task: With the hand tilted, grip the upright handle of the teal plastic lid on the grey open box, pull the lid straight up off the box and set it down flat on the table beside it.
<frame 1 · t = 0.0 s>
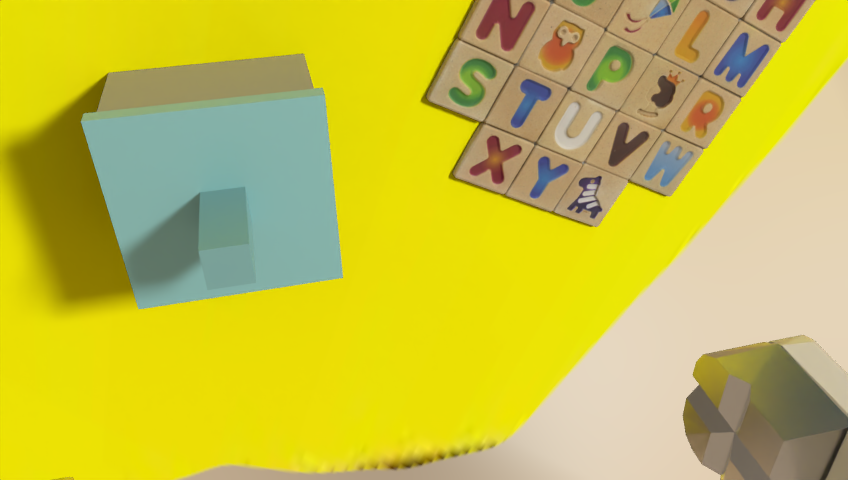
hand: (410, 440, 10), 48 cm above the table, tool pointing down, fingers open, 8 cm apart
alphabet tiles: (625, 37, 62), on the table
grey open box: (224, 148, 58), on the table
lid: (226, 199, 52), point 8 cm above the table, touching grey open box
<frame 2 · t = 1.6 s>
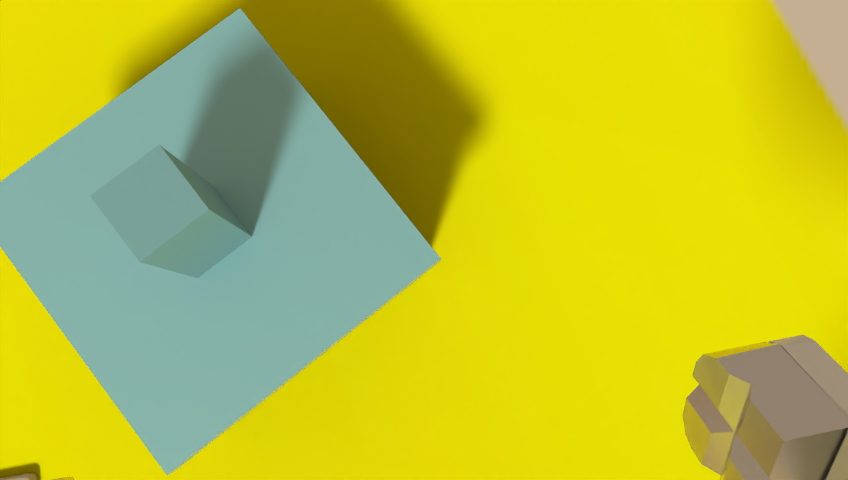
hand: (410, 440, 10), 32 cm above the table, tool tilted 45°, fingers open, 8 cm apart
lid: (212, 235, 34), point 8 cm above the table, touching grey open box
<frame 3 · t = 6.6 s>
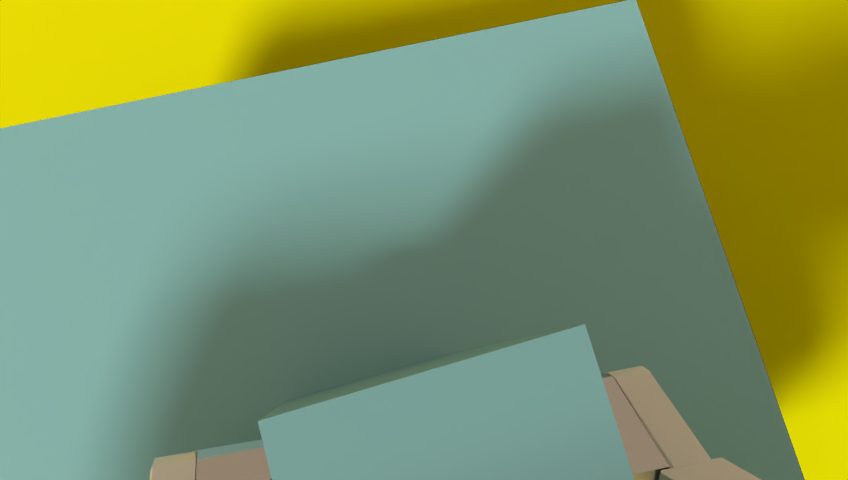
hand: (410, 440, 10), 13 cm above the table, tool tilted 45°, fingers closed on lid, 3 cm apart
lid: (383, 454, 14), point 8 cm above the table, touching gripper, grey open box
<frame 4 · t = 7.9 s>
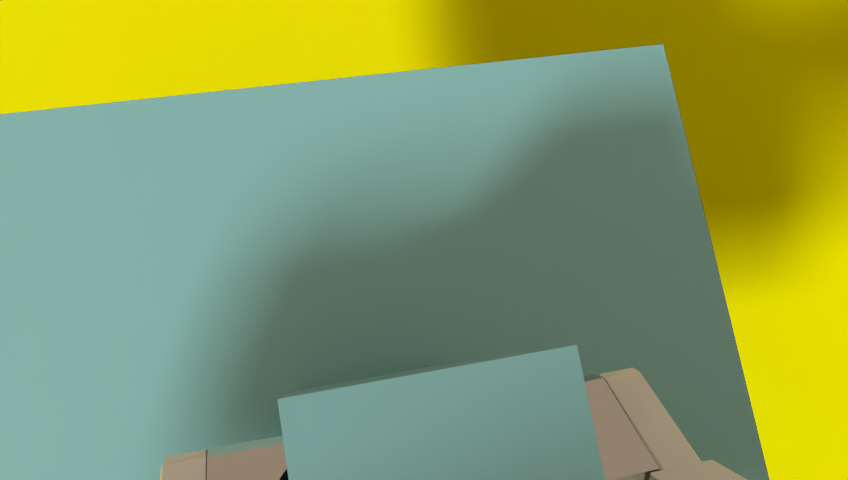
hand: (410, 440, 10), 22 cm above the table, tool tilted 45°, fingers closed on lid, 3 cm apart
lid: (379, 451, 15), point 17 cm above the table, touching gripper
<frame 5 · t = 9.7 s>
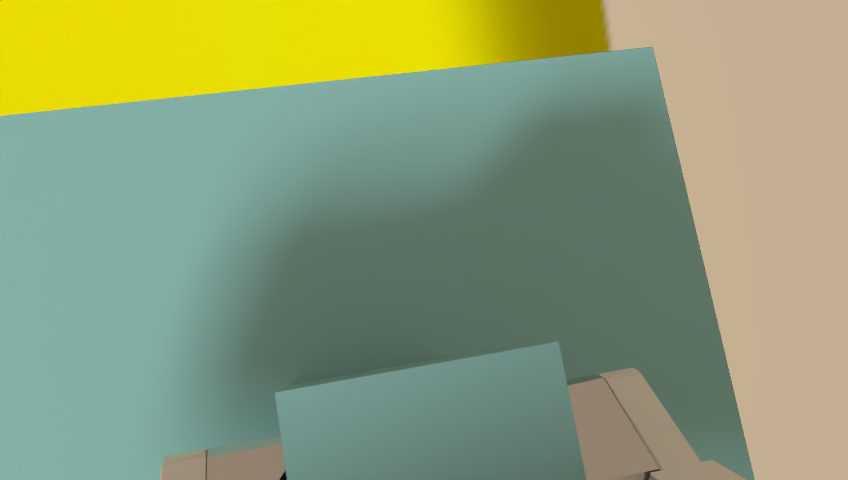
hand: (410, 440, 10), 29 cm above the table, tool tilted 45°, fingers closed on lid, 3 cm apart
lid: (375, 443, 15), point 23 cm above the table, touching gripper
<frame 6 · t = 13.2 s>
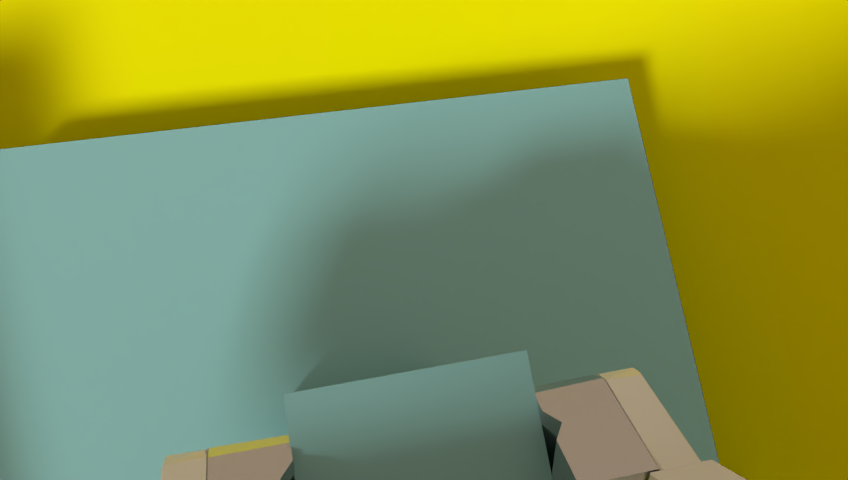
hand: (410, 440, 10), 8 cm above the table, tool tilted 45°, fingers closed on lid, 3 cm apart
lid: (371, 446, 17), point 1 cm above the table, touching gripper
when the fingers open (7 cm above the table, at t = 13.7 s): lid stays where it is, point 1 cm above the table.
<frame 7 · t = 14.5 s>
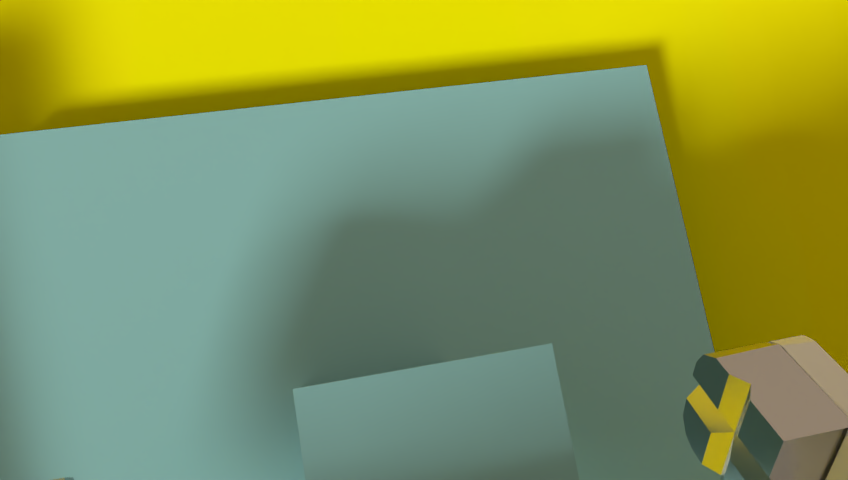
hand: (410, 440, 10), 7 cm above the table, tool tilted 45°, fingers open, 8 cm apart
lid: (380, 444, 16), point 1 cm above the table
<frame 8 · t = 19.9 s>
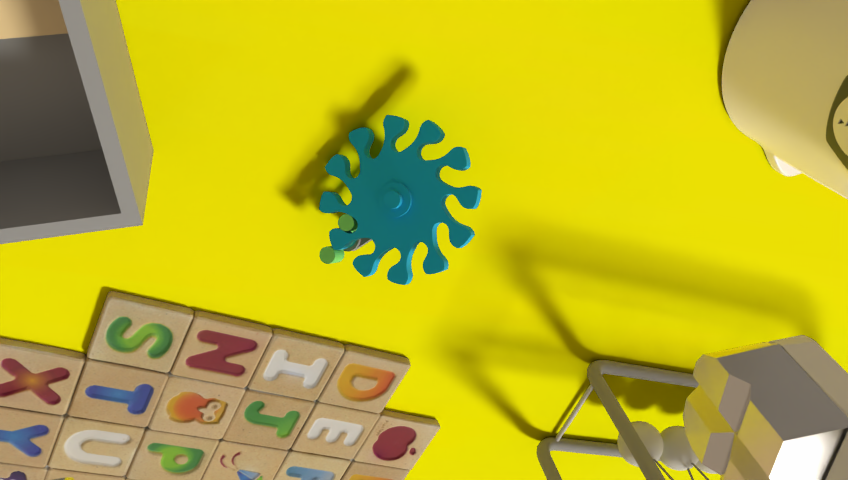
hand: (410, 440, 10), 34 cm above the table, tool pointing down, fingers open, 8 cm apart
alphabet tiles: (210, 454, 58), on the table
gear: (379, 173, 47), on the table
newton's cradle: (685, 414, 69), on the table
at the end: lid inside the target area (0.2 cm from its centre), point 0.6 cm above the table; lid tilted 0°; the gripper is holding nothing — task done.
